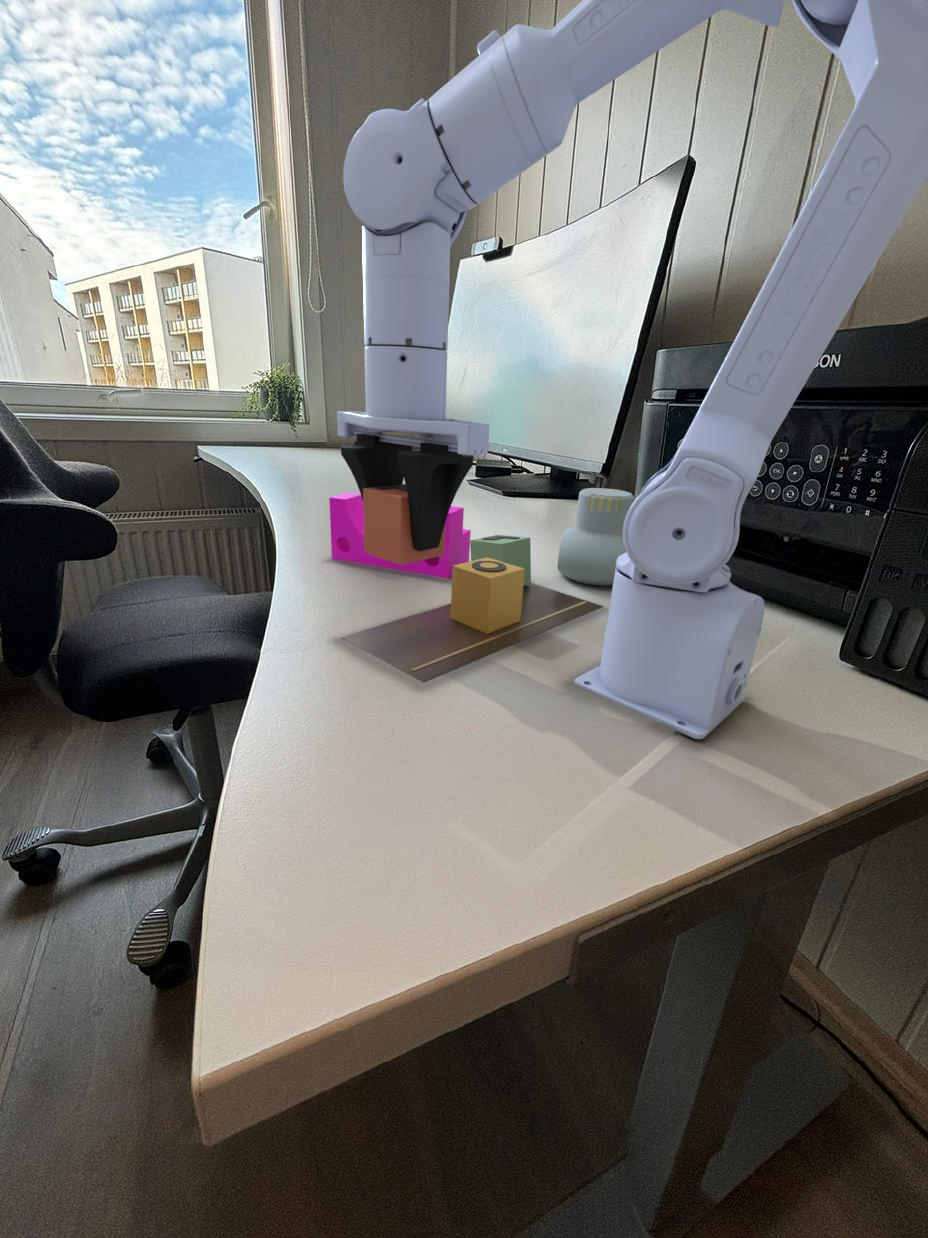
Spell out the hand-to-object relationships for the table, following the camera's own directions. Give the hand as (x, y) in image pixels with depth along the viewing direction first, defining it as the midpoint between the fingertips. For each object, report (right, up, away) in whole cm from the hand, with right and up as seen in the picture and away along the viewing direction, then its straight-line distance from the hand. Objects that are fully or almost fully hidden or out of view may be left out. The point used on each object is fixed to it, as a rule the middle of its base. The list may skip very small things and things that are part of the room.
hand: (405, 541), depth 44 cm
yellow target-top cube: (+7, -6, +7) cm, 11 cm away
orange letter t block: (0, -1, 0) cm, 1 cm away
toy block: (-3, 0, +23) cm, 23 cm away
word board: (+6, -7, +7) cm, 12 cm away
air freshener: (+20, -2, +21) cm, 29 cm away
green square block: (+9, -2, +17) cm, 19 cm away
